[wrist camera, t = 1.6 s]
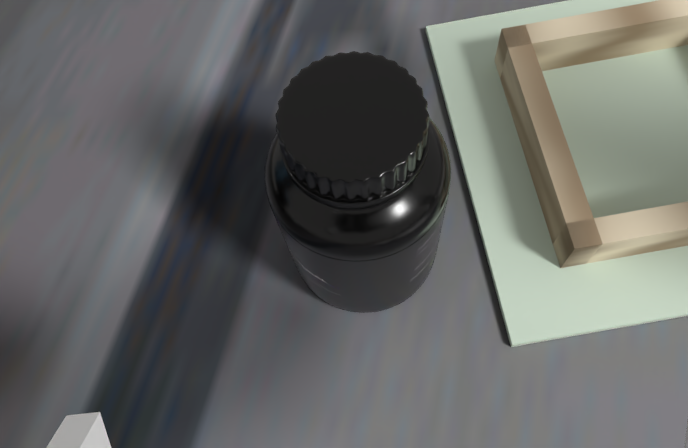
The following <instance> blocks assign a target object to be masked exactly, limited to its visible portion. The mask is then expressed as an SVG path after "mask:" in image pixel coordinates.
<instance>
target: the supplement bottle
mask: <svg viewBox="0 0 688 448" xmlns="http://www.w3.org/2000/svg"><path fill="white" fill-rule="evenodd" d="M278 105H279V109H278V111H277V113H276V120H277V125H276V132H277V133H276V135H275V137H274V139H273V141H272V143H271V145H270V148H269V151H268V154H267V158H266V165H265V186H266V192H267V196H268V199H269V203H270V206H271V208H272V211H273V213H274V216H275V218H276V220H277V223H278V225H279V227H280V230H281V232H282V234H283V236H284V239H285V241H286V243H287V246H288V248H289V250H290V253H291V255H292V257H293V260H294V262H295V264H296V267H297V269H298V271H299V273H300V275H301V276H302V278H303V280H304V281H305V283H306V284H307V285H308V287H309V288H310V289H311V290H312V291H313V292H314V293H315V294H316V295H317V296H318V297H320V298H321V299H322V300H324V301H325V302H327V303H329V304H331V305H333V306H335V307H337V308H340V309H343V310H347V311H352V312H361V313H365V312H377V311H381V310H385V309H388V308H391V307H394V306H396V305H398V304H400V303H402V302H403V301H405V300H406V299H408V298H409V297H410V296H412V295H413V294H414V293H415V292H416V291H417V290H418V289H419V288H420V287H421V285H422V284H423V283H424V281H425V280H426V278H427V276H428V274H429V272H430V270H431V268H432V265H433V263H434V259H435V255H436V251H437V247H438V242H439V237H440V233H441V228H442V223H443V218H444V214H445V209H446V204H447V199H448V195H449V189H450V181H451V164H450V157H449V152H448V149H447V146H446V143H445V141H444V138H443V136H442V134H441V133H440V131H439V129H438V128H437V126H436V125H435V124H434V122H433V121H432V120H431V119H430V118H429V114H428V112H427V101H426V99H425V98H424V97H423V90H422V88H421V87H419V86H418V85H417V82H416V79H415V78H414V77H413V76H411V75H409V74H408V71H407V70H406V69H405V68H403V67H400V66H399V65H398V64H397V63H396V62H395V61H392V60H387V59H386V58H385V57H383V56H381V55H373V54H371V53H369V52H367V53H358V52H355V51H354V52H350V53H338V54H336V55H334V56H325V57H324V58H323V59H321V60H319V61H314V62H312V63H311V64H310V65H309V66H308V67H306V68H303V69H301V71H300V72H299V74H298V75H297V76H295V77H294V78H292V79H291V81H290V84H289V86H288V87H286V88H285V89H284V91H283V97H282V98H281V99H280V100H279V102H278Z"/></svg>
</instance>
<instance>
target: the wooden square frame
mask: <svg viewBox="0 0 688 448" xmlns="http://www.w3.org/2000/svg"><path fill="white" fill-rule="evenodd" d="M684 45H688V0H658V1H652V2H647V3H641V4H636V5H630V6H625V7H619V8H614V9H608V10H603V11H597V12H591V13H586V14H580V15H575V16H569V17H564V18H558V19H553V20H547V21H542V22H536V23H531V24H525V25H520V26H514V27H509V28H503V29H501V33H500V38H499V42H498V47H497V51H496V55H495V60H494V61H495V64H496V67H497V70H498V74H499V77H500V80H501V83H502V86H503V89H504V92H505V96H506V99H507V102H508V105H509V108H510V111H511V114H512V118H513V121H514V124H515V127H516V130H517V133H518V136H519V140H520V143H521V146H522V149H523V152H524V155H525V158H526V162H527V165H528V168H529V171H530V174H531V177H532V180H533V184H534V187H535V190H536V193H537V196H538V199H539V202H540V206H541V209H542V212H543V215H544V218H545V221H546V224H547V228H548V231H549V234H550V237H551V240H552V243H553V246H554V250H555V253H556V256H557V259H558V262H559V265H560V268H564V267H570V266H576V265H581V264H587V263H593V262H598V261H604V260H609V259H615V258H621V257H626V256H632V255H637V254H643V253H649V252H654V251H660V250H666V249H671V248H677V247H682V246H688V202H682V203H676V204H671V205H665V206H660V207H654V208H648V209H643V210H637V211H632V212H626V213H620V214H615V215H609V216H604V217H598V218H593V215H592V212H591V209H590V206H589V203H588V201H587V198H586V195H585V192H584V189H583V186H582V184H581V181H580V178H579V175H578V172H577V169H576V167H575V164H574V161H573V158H572V155H571V152H570V150H569V147H568V144H567V141H566V138H565V135H564V133H563V130H562V127H561V124H560V121H559V118H558V116H557V113H556V110H555V107H554V104H553V101H552V99H551V96H550V93H549V90H548V87H547V84H546V82H545V79H544V76H543V73H542V71H546V70H551V69H557V68H562V67H568V66H573V65H579V64H585V63H590V62H596V61H601V60H607V59H612V58H618V57H623V56H629V55H634V54H640V53H645V52H651V51H656V50H662V49H667V48H673V47H679V46H684Z"/></svg>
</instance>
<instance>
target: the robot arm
mask: <svg viewBox="0 0 688 448" xmlns="http://www.w3.org/2000/svg"><path fill="white" fill-rule="evenodd" d="M46 448H111V445H110V442H109V439H108V436H107V433H106V430H105V427H104V423H103V420H102V417H101V414H100V412H95V413H85V414H76V415H66V417H65V419H64V420H63V422H62V423H61V425H60V427H59V428H58V430H57V431H56V433H55V435H54V436H53V438H52V439H51V441H50V443H49V444H48V446H47V447H46ZM685 448H688V421H687V430H686V440H685Z"/></svg>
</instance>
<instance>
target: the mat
mask: <svg viewBox="0 0 688 448" xmlns="http://www.w3.org/2000/svg"><path fill="white" fill-rule="evenodd" d="M652 1H658V0H568V1H563V2H557V3H552V4H546V5H541V6H535V7H530V8H524V9H519V10H513V11H508V12H502V13H497V14H491V15H486V16H480V17H475V18H469V19H464V20H458V21H453V22H447V23H442V24H436V25H431V26H426V34H427V38H428V42H429V45H430V49H431V53H432V56H433V60H434V64H435V67H436V71H437V75H438V79H439V82H440V86H441V90H442V93H443V97H444V101H445V105H446V108H447V112H448V116H449V119H450V123H451V127H452V130H453V134H454V138H455V142H456V145H457V149H458V153H459V156H460V160H461V164H462V168H463V171H464V175H465V179H466V182H467V186H468V190H469V194H470V197H471V201H472V205H473V208H474V212H475V216H476V219H477V223H478V227H479V231H480V234H481V238H482V242H483V245H484V249H485V253H486V257H487V260H488V264H489V268H490V271H491V275H492V279H493V282H494V286H495V290H496V294H497V297H498V301H499V305H500V308H501V312H502V316H503V320H504V323H505V327H506V331H507V334H508V338H509V342H510V345H511V347H514V346H520V345H525V344H531V343H537V342H542V341H548V340H554V339H559V338H565V337H571V336H576V335H582V334H588V333H593V332H599V331H604V330H610V329H616V328H621V327H627V326H633V325H638V324H644V323H650V322H655V321H661V320H667V319H672V318H678V317H683V316H688V246H682V247H677V248H671V249H666V250H660V251H654V252H649V253H643V254H637V255H632V256H626V257H621V258H615V259H609V260H604V261H598V262H593V263H587V264H581V265H576V266H570V267H564V268H560V265H559V262H558V259H557V256H556V253H555V250H554V246H553V243H552V240H551V237H550V234H549V231H548V228H547V224H546V221H545V218H544V215H543V212H542V209H541V206H540V202H539V199H538V196H537V193H536V190H535V187H534V184H533V180H532V177H531V174H530V171H529V168H528V165H527V162H526V158H525V155H524V152H523V149H522V146H521V143H520V140H519V136H518V133H517V130H516V127H515V124H514V121H513V118H512V114H511V111H510V108H509V105H508V102H507V99H506V96H505V92H504V89H503V86H502V83H501V80H500V77H499V74H498V70H497V67H496V64H495V61H494V60H495V55H496V51H497V47H498V42H499V38H500V33H501V29H503V28H509V27H514V26H520V25H525V24H531V23H536V22H542V21H547V20H553V19H558V18H564V17H569V16H575V15H580V14H586V13H591V12H597V11H603V10H608V9H614V8H619V7H625V6H630V5H636V4H641V3H647V2H652ZM542 73H543V76H544V79H545V82H546V84H547V87H548V90H549V93H550V96H551V99H552V101H553V104H554V107H555V110H556V113H557V116H558V118H559V121H560V124H561V127H562V130H563V133H564V135H565V138H566V141H567V144H568V147H569V150H570V152H571V155H572V158H573V161H574V164H575V167H576V169H577V172H578V175H579V178H580V181H581V184H582V186H583V189H584V192H585V195H586V198H587V201H588V203H589V206H590V209H591V212H592V215H593V218H598V217H604V216H609V215H615V214H620V213H626V212H632V211H637V210H643V209H648V208H654V207H660V206H665V205H671V204H676V203H682V202H688V45H684V46H679V47H673V48H667V49H662V50H656V51H651V52H645V53H640V54H634V55H629V56H623V57H618V58H612V59H607V60H601V61H596V62H590V63H585V64H579V65H573V66H568V67H562V68H557V69H551V70H546V71H542Z"/></svg>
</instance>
